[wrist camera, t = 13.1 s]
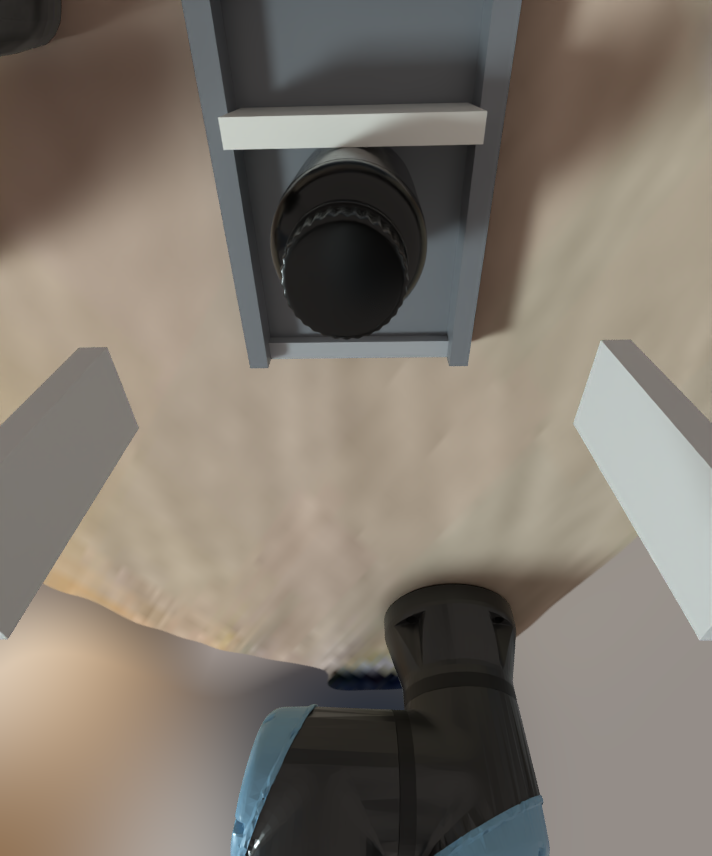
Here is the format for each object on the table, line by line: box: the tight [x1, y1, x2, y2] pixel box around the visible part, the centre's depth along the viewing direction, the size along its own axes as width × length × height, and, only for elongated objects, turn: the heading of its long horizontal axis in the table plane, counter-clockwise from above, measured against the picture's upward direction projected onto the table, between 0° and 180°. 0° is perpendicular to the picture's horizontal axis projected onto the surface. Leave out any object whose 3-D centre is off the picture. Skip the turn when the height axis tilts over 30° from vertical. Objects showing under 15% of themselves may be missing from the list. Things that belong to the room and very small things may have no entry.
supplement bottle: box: [270, 146, 427, 340], centre depth 22 cm, size 7×7×12 cm
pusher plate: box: [218, 102, 487, 150], centre depth 22 cm, size 1×11×5 cm, turn 92°
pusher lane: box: [181, 0, 522, 368], centre depth 25 cm, size 20×15×5 cm
